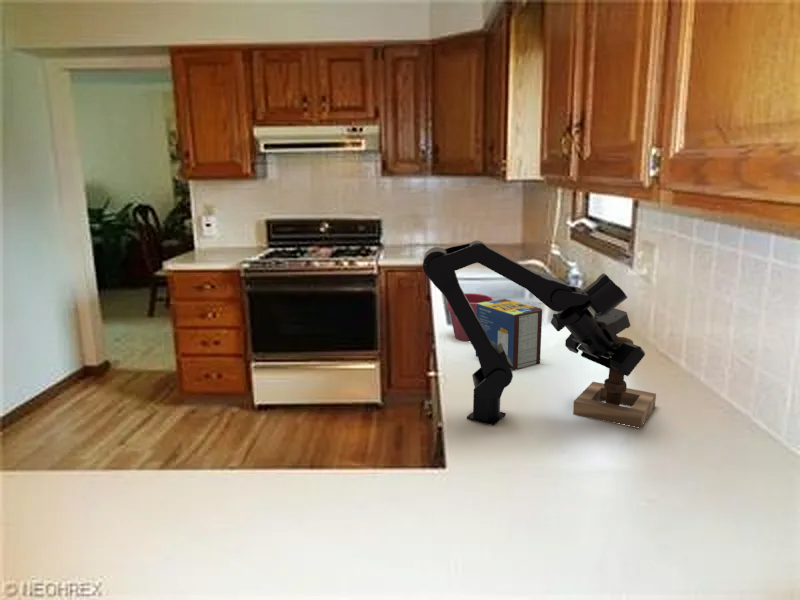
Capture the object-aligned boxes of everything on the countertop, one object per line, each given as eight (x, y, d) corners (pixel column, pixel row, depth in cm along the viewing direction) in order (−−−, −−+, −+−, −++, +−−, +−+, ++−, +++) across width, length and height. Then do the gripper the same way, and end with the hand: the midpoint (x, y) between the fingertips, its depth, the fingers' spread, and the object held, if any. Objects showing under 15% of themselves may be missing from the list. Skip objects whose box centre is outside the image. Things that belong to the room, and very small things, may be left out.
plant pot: (499, 335, 190) (501, 295, 188) (481, 347, 179) (482, 305, 176) (459, 329, 198) (459, 290, 195) (438, 339, 186) (438, 299, 183)
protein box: (502, 349, 176) (503, 297, 173) (540, 364, 164) (543, 308, 160) (474, 356, 171) (475, 302, 167) (512, 371, 158) (514, 314, 155)
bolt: (626, 411, 130) (635, 345, 126) (602, 408, 131) (609, 343, 127) (623, 400, 136) (630, 336, 132) (599, 398, 137) (606, 334, 133)
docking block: (640, 429, 124) (641, 415, 123) (573, 413, 132) (573, 401, 131) (654, 406, 135) (656, 393, 135) (592, 393, 143) (592, 381, 142)
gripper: (642, 308, 118) (678, 355, 125) (579, 289, 135) (614, 332, 141) (606, 351, 117) (645, 397, 123) (548, 327, 133) (584, 368, 140)
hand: (621, 371), depth 132 cm, fingers closed on bolt, 4 cm apart
